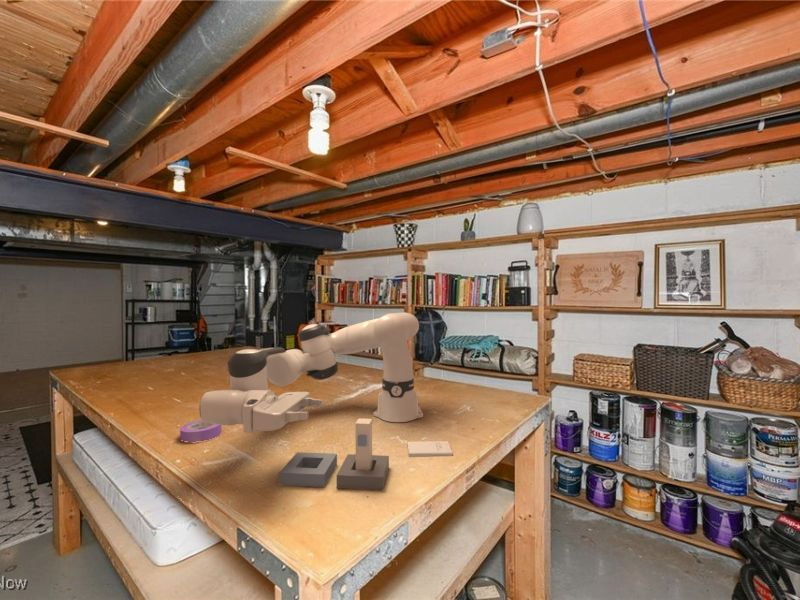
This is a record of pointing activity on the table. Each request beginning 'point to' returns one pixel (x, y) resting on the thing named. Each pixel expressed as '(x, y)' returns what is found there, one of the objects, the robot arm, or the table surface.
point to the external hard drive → (429, 448)
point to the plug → (364, 444)
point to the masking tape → (199, 431)
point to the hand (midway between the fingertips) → (314, 409)
